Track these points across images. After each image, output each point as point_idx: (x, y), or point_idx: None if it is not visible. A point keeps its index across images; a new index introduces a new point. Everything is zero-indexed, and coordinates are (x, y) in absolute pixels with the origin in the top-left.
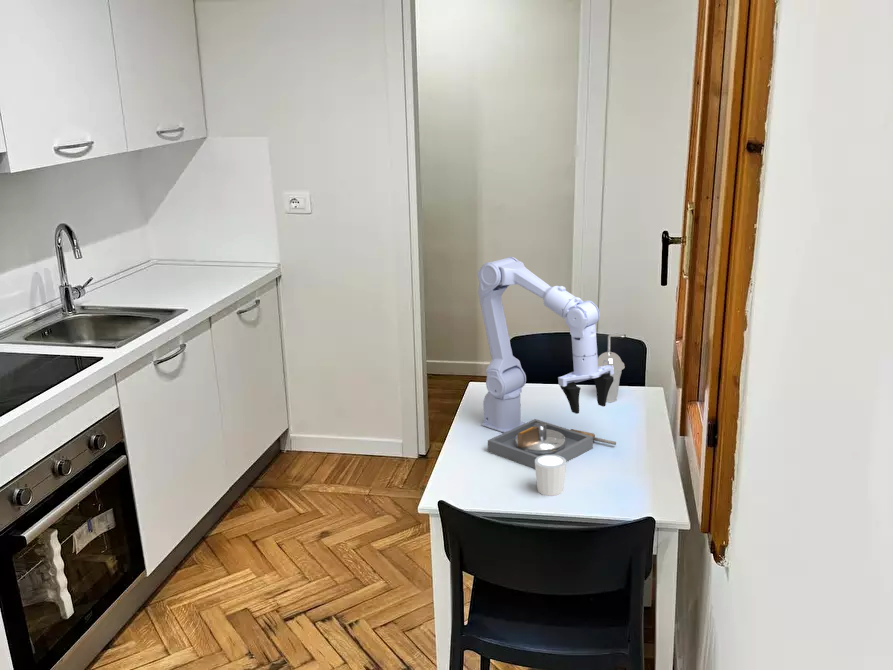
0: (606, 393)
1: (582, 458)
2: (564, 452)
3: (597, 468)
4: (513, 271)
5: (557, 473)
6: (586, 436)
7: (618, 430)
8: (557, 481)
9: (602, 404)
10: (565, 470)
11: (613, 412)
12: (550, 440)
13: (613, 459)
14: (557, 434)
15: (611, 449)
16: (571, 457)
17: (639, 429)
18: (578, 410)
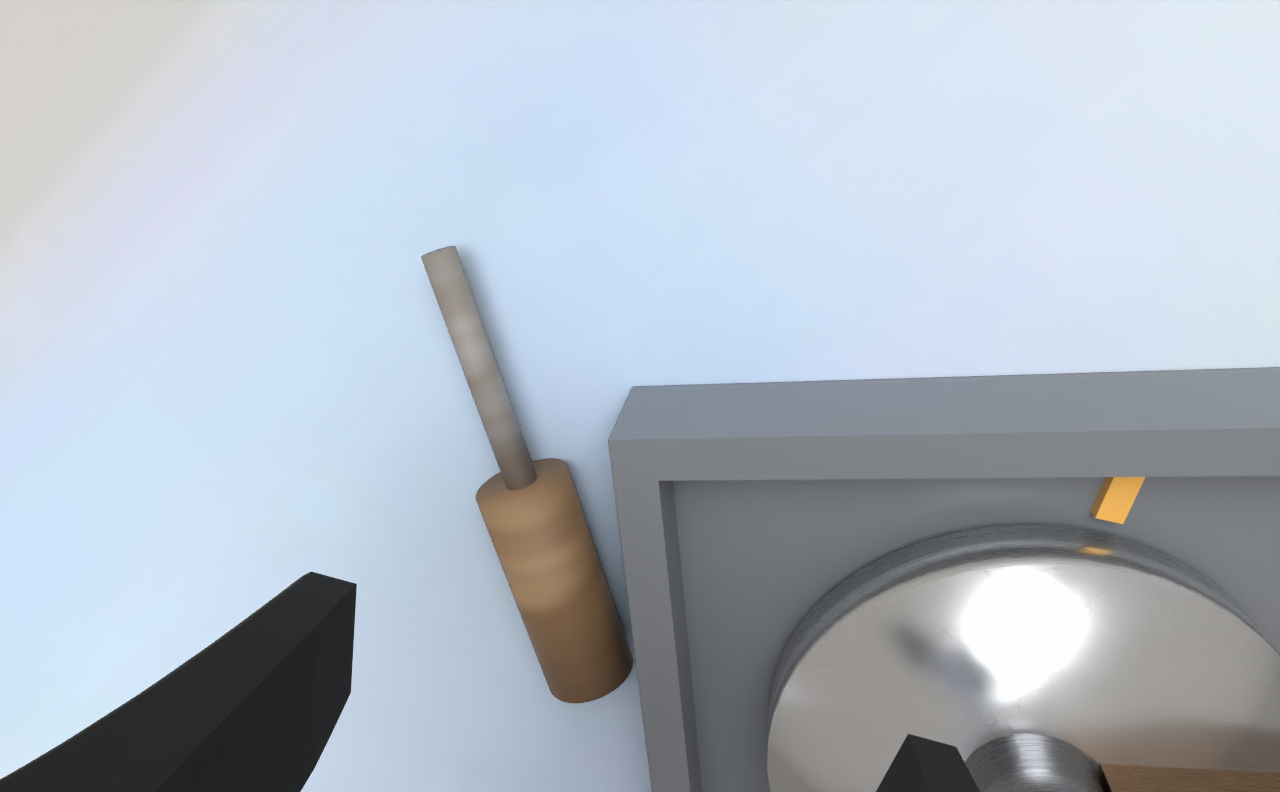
0: (113, 757)
1: (897, 315)
2: (1179, 424)
3: (1020, 23)
4: None
5: None
6: (650, 494)
7: (177, 453)
8: None
9: (338, 624)
10: None
11: (4, 667)
12: (1012, 689)
13: (692, 58)
14: (827, 716)
15: (515, 242)
16: (1004, 384)
17: (11, 336)
18: (941, 782)
